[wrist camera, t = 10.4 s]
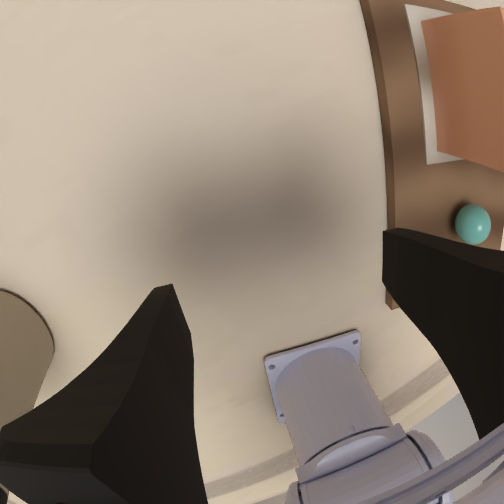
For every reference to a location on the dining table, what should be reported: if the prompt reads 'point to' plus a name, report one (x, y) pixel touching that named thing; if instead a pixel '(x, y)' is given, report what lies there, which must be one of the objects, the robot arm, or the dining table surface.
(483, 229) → the teal marble
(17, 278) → the dining table surface
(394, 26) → the walnut board
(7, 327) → the travel mug
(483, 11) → the terracotta cover
